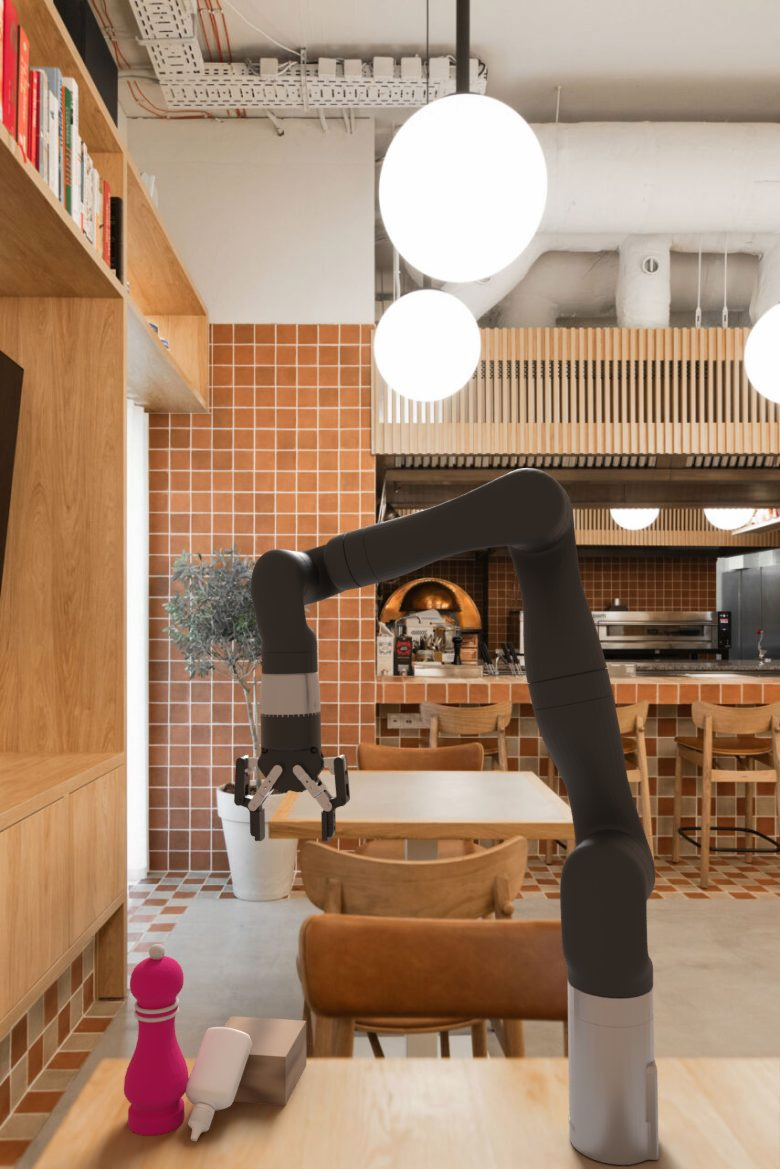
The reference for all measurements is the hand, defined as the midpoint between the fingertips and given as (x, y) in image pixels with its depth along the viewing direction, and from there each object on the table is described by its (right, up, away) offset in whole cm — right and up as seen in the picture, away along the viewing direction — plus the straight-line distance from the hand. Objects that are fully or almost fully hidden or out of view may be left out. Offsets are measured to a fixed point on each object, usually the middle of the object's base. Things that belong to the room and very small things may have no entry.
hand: (292, 840), depth 116 cm
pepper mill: (-15, -30, -10) cm, 34 cm away
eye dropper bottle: (-7, -22, -4) cm, 23 cm away
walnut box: (-4, -30, -1) cm, 30 cm away
